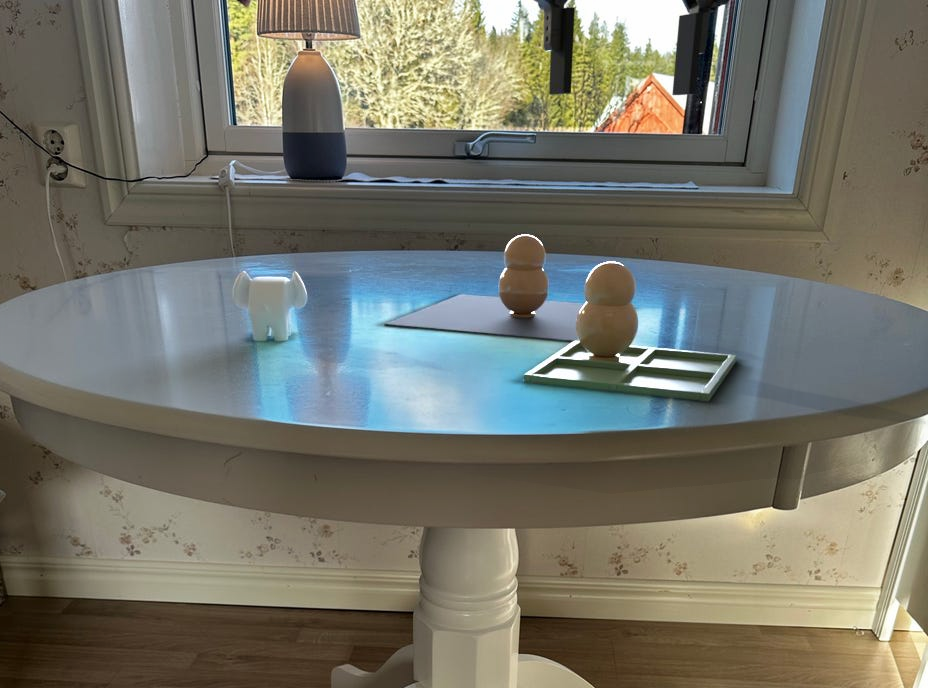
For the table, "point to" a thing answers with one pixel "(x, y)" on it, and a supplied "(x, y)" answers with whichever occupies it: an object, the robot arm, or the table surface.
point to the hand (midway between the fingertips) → (623, 94)
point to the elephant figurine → (269, 303)
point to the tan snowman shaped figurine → (524, 277)
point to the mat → (495, 318)
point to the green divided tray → (637, 371)
